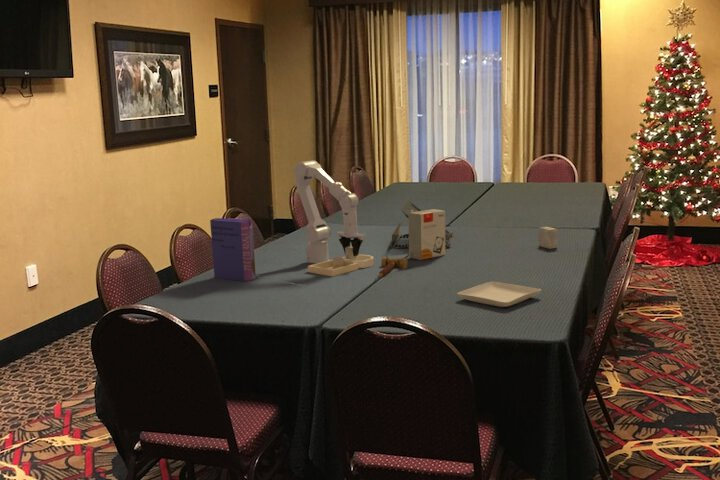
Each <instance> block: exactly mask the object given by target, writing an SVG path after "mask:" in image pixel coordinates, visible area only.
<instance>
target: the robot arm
mask: <svg viewBox="0 0 720 480" xmlns="http://www.w3.org/2000/svg"><path fill="white" fill-rule="evenodd" d="M293 174H294V176H295V177H294V178H295V186H296V189H297V192H298V195H299V198H300V201H301V204H302V206H303V210H304V212H305V215H306V219H307V221H308V223H307V225H306V228H305V229H306V237H307V240H308V241H309V242H307V245H306V247H305V249H306V251H305V253H306V260H305V263H306V264H307V263H311V264H317V263H321V262H325V261H329V260H330V259H329V258H330V257H329V239H330V238H331V236H332V232H331V228H330V227H329V226H328V225H327V222H326V221H325V220H324V219H322V217H321V214H320V211H319V209H318V206H317V204H316V203H317V202H316V200H315V197H314V194H313V192H312V189H311V186H310V183H311V181H312V180H313V179H314V178H316V179H317V180H318V181H320V182H321V183H322V184H323V185H324V186H326V187H327V188H328V193H329V194H330V195H332V196H333V197H334V198H335V199H336V200H337V201H338V202H339V206H340V208H341V212H342V219H343V220H342V222H343V223H342V224H343V231H337V232H336V237H337V238H339V237H340V238H339V239H338V240H339V243H340V244H341V247H342V249H343V252H344V255H345V256H346V253H345V247H347V246H352V248H353V255H354V256H358V255H359V253H360V249H361V248H360V247H361V245H362V243H363V242H364V240H366V234H364V233H363V234H362V233H359V232H358V217H357V216H358V215H357V214H358V212H357V207H358V205H359V203H360V199H359V197H358V195H357V194H356V193H355V192H351V191H350V190H348V189H346V187H344V186H343V183H342V182H339V181H334V180H333V179H332V178H331V177H330V175H328V174H327V172H326V171H325V170H323V168H322V166H321V164H320V163H318V161H316V160H315V159H312V160H305V161H299V162H296V164H295V166H294V168H293Z"/></svg>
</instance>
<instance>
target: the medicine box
mask: <svg viewBox="0 0 720 480" xmlns="http://www.w3.org/2000/svg"><path fill="white" fill-rule="evenodd" d="M538 247H541V248H545V249H550V250H552V249H553V250H554V249H557V248H558V229H557V228H553V227H550V226H542V227H539V228H538Z"/></svg>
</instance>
